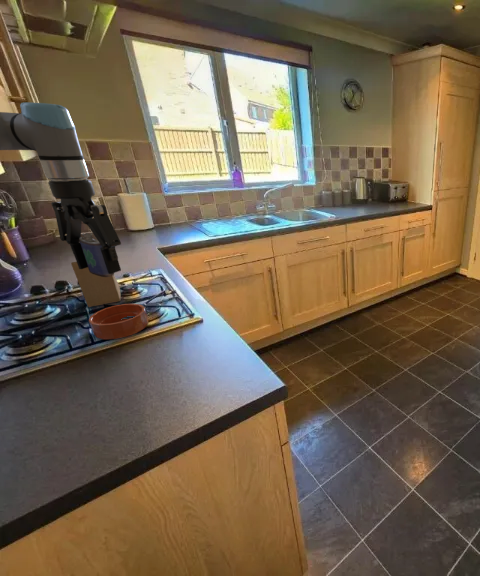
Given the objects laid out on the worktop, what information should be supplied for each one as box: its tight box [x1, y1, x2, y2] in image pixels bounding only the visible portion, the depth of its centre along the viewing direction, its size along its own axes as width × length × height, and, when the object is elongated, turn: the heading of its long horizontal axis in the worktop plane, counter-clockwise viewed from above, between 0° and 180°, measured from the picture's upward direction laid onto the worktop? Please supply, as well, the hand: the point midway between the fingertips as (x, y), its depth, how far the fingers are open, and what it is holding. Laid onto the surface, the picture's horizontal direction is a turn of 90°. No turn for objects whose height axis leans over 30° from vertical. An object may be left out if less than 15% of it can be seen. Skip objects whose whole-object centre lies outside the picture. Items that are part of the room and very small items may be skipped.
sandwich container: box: [70, 261, 121, 308], centre depth 107 cm, size 9×15×15 cm, turn 37°
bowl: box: [88, 303, 150, 341], centre depth 91 cm, size 12×12×5 cm
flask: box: [79, 232, 115, 277], centre depth 83 cm, size 9×3×11 cm, turn 62°
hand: (100, 269), depth 85 cm, fingers closed on flask, 9 cm apart
